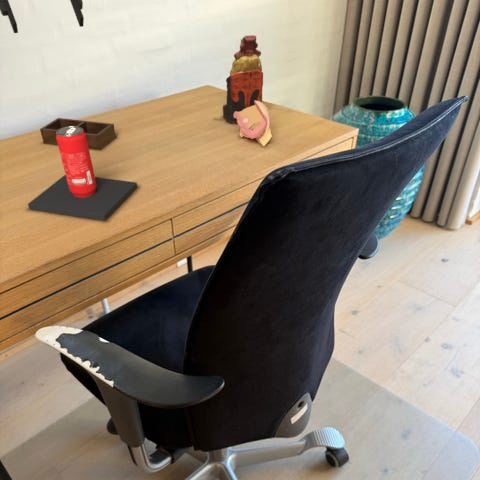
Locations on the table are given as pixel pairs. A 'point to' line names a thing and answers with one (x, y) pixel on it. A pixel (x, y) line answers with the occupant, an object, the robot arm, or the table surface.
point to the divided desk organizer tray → (95, 131)
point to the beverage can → (76, 161)
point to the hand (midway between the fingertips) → (49, 25)
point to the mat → (84, 199)
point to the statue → (244, 79)
